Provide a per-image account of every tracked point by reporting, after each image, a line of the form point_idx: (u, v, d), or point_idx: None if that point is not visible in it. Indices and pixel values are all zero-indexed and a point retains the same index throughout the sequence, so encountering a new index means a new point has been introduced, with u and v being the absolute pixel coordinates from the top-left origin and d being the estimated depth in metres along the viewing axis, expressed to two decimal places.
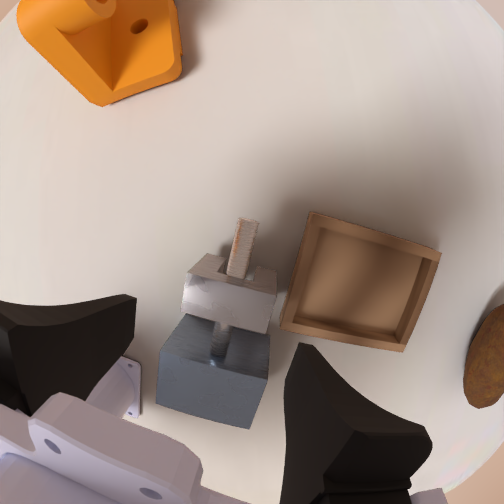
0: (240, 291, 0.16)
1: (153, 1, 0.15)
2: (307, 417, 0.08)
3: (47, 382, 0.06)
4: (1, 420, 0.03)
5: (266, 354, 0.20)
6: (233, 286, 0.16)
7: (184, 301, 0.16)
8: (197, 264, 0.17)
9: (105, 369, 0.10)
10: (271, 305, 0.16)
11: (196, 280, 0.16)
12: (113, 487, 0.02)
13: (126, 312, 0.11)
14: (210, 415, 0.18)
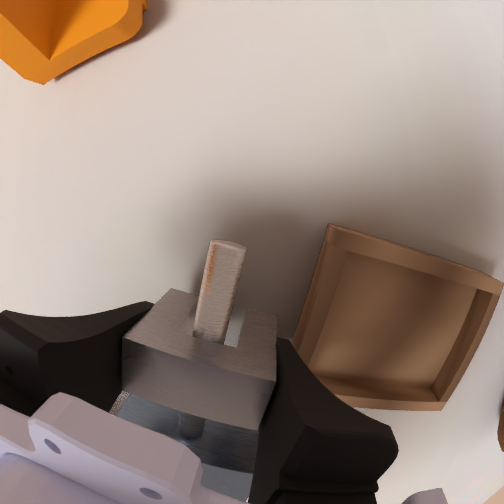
0: (213, 372, 0.08)
1: None
2: (274, 412, 0.08)
3: None
4: (1, 420, 0.03)
5: None
6: (199, 365, 0.08)
7: (125, 378, 0.09)
8: (147, 315, 0.10)
9: None
10: (266, 394, 0.08)
11: (138, 350, 0.08)
12: (113, 487, 0.02)
13: None
14: None
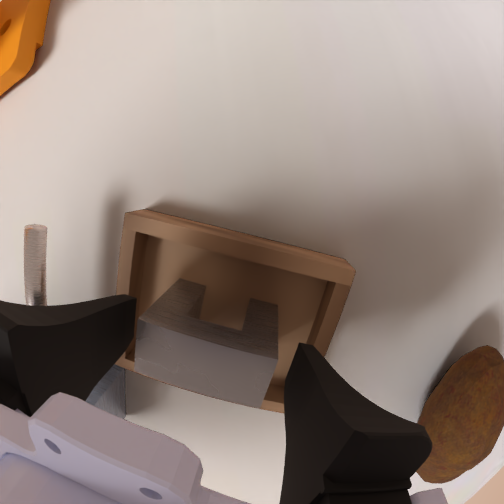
0: (221, 351, 0.09)
1: None
2: (307, 417, 0.08)
3: (47, 382, 0.06)
4: (1, 420, 0.03)
5: (101, 391, 0.14)
6: (209, 344, 0.09)
7: (137, 358, 0.10)
8: (159, 300, 0.11)
9: (105, 369, 0.10)
10: (269, 372, 0.09)
11: (152, 331, 0.09)
12: (113, 487, 0.02)
13: (126, 312, 0.11)
14: None
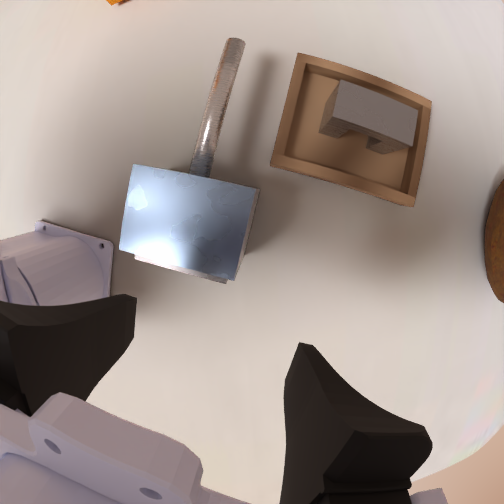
0: (389, 101, 0.14)
1: None
2: (307, 417, 0.08)
3: (47, 382, 0.06)
4: (1, 420, 0.03)
5: (255, 188, 0.18)
6: (383, 96, 0.13)
7: (337, 106, 0.14)
8: (335, 90, 0.15)
9: (105, 369, 0.10)
10: (415, 118, 0.14)
11: (349, 87, 0.14)
12: (113, 487, 0.02)
13: (126, 312, 0.11)
14: (184, 258, 0.16)
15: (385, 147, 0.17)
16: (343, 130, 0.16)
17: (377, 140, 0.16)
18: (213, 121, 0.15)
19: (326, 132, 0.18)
